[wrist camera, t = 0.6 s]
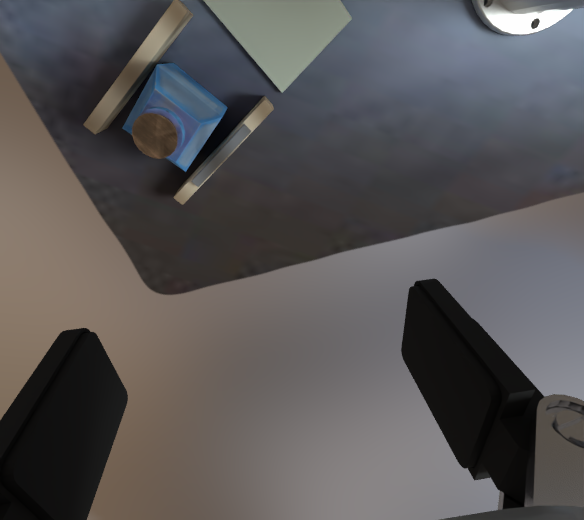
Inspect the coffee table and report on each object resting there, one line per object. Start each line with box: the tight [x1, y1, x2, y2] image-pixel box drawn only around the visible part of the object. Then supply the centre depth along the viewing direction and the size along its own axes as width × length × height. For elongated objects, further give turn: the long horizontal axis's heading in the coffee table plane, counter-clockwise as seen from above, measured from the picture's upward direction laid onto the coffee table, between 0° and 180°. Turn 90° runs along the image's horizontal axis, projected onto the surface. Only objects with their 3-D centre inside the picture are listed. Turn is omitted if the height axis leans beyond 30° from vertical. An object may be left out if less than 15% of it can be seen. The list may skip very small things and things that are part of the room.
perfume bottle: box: [122, 63, 228, 172], centre depth 29 cm, size 6×6×12 cm
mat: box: [204, 0, 352, 93], centre depth 30 cm, size 9×11×1 cm
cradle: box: [83, 0, 274, 205], centre depth 32 cm, size 14×11×4 cm
